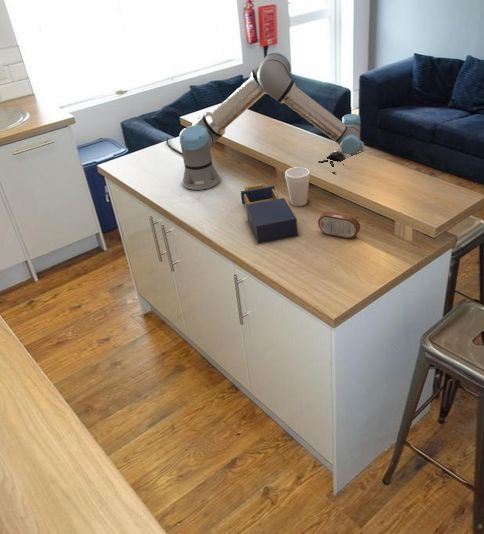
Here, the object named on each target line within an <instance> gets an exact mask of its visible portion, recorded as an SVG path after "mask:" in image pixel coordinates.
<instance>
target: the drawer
mask: <svg viewBox="0 0 484 534" xmlns="http://www.w3.org/2000/svg"><path fill="white" fill-rule="evenodd" d="M275 188H276V187H275V185H269V186H268V185H267V186H266V184H265V183H259V184H252V185H247V186H244V190H241V191H240V198H241V204H242V205H244V206H245V207H246V205H249V204H254V203H259V202H265V201H270V200H275V199H280V197H279V196H278V194H277V192H276V189H275Z"/></svg>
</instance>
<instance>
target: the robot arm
mask: <svg viewBox="0 0 484 534" xmlns="http://www.w3.org/2000/svg"><path fill="white" fill-rule="evenodd" d="M291 70H292V68H291V62H290V60H289V58H288V57H287V56H286V55H285V54H283V53H282V52H277V51H273V52H270V53H268V54H267V55H265V56H264V58H263V59H262V61H261V62H260V63H259V64H258V65H257V66H255V68H253V69H252V70H251V72H250V73H251V74H250V75H251V76H250V77H249V78H248V79H246V81H244V82H243V83H242V84H241V85H240V86H238V88H237V89H236V90H235V91H234V92H232V93H231V94H230V95H229V96H228V97H227V98H226V99H225V100H224V101H222V102H221V104H219V105H218V106H217V107H216V108H215V109H214V110H213V111H206V112H205V113H204V114H202V115H201V116H200V117H198V118H196V119H195V120H194V122H193V123H192V125H189V126H186V127H185V128H183V129H182V130H181V131H180V133H179V144H180V149H181V151H180V150H178V149H176V148H175V147H173V146H172V145H171V144H170V143H169V137H166V144H167V146H168V147H169V148H170V149H171V150H173V151H175V152H177V153H178V154H180V155H182V160H183V164H184V171H183V178H182V183H183V186H184V188H186V189H187V190H190V191H191V190H192V191H203V190H209V189H211V188H215V186H216V185H218V184H219V182H220V177H219V173H218V172H217V169H216V168H215V166H214V164H213V160H212V152H211V151H212V150H211V149H212V147H213V146H214V144H215V143H216V142H217V141H218V140H219V139H221V137H223V136H224V135H225V134H226V129H227V128H228V127H229V126H230V125H231V124H232V123H233V122H235V121H236V120H237V119H238V118H239V117H240V116H241V115H242V114H243V113H245V112H246V111H247V110H248V109H249V108H251V107H252V106H253V105H254V104H255V103H256V102H257V101H259V100H260V99H261V98H262V97H263V96H264V95H269V96H270V97H271V98H272V99H274V100H275V101H276V102H278V103H279V104H284V105H286V106H288V108H290V109H291V110H293V111H294V112H296V113H297V114H298V115H299V116H301V117H302V118H304V120H306V121H308V122H309V123H310V124H311V125H313V126H314V127H315V128H316V129H318V130H319V131H321V132H322V133H323V134H325V135H326V136H327V137H328V138H330V139H331V140H333V141H334V142H335V143H337V144H338V145H339V146H340V147H339V148H337V149H335V150H334V151H332V152H331V153H329V154H328V155H327V156H326V157H325V159H326V158H327V159H330V160H333V161H337V162H338V161H339V162H341V161H343V160H345V159H347V158H349V157H351V156H353V155H357V154H359V153H361V152H364V153H365V145H364V142H363V141H362V140H361V116H360V115H358V114H355V113H347V114H345V115H343V116H342V118H341V120H340V119H339V118H337V117H336V116H335V115H334V114H333V113H332V112H330V111H329V110H327V109H326V108H325V107H323V106H322V105H321V104H319V103H318V102H317V101H315V100H314V99H313V98H312V97H310V96H309V95H308V94H306V92H304V91H303V90H301V89H300V88H299V87H297V86H296V82H295V81H294V80H293V79H292V78H290V76H291V72H292V71H291ZM359 151H361V152H359ZM357 152H358V153H357ZM325 159H322V160H323V161H318V163H324V162H328V160H325ZM333 161H330V164H331V166H332V167H334V164H333ZM343 165H344V164H343ZM332 173H333V174H335V175H336V171H335V172H332Z"/></svg>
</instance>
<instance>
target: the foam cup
mask: <svg viewBox="0 0 484 534" xmlns="http://www.w3.org/2000/svg"><path fill="white" fill-rule="evenodd" d="M310 178H311V170H309V169H307V168H305V167H299V166H294V167H290V168H288V169H285V172H284V179H285V181H286V186H287V189H288V190H287V191H288V196H289V200H290V204H291V205H292V206H295V207H303V206H305V205H307V203H308V196H309V186H310Z"/></svg>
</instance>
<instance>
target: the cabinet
mask: <svg viewBox="0 0 484 534" xmlns="http://www.w3.org/2000/svg"><path fill="white" fill-rule="evenodd" d="M245 208H246V216H247V223H248V225H249V226H250V229H251V232H252V234H253V235H254V238H255V240H256V242H257V244H262V243H268V242H272V241H277V240H282V239H283V240H284V239H288V238H293V237H297V236H299V235H298V221H297V220H298V219H297V217H296V215H295V213H294V212H293V210H292V208H291V207H290V205H289V204H288V202H287V200H286V199H285V198H284V197H281V198H279V199H275V200H270V201H265V202H259V203H254V204H249V205H246V206H245Z"/></svg>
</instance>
